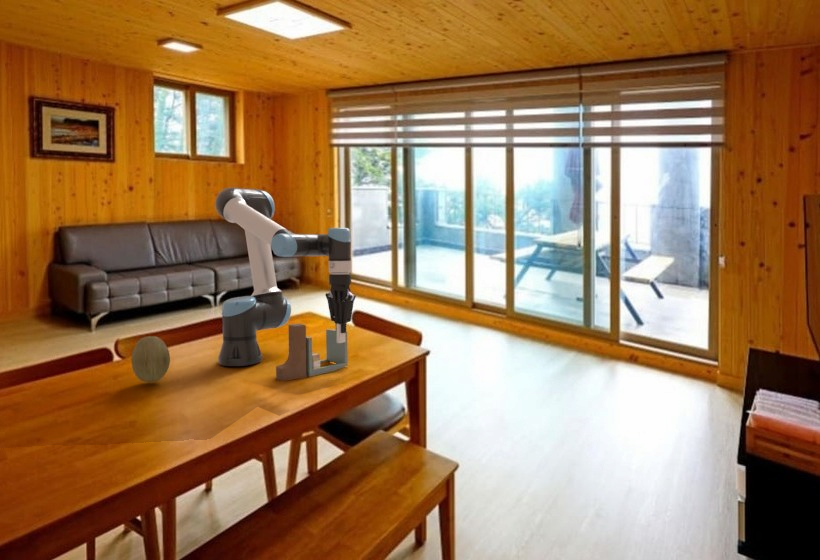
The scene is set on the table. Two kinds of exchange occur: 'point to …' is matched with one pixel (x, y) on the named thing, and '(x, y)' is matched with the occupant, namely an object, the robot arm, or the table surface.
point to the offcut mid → (316, 364)
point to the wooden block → (294, 355)
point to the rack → (328, 354)
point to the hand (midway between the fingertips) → (341, 342)
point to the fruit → (150, 359)
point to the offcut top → (315, 357)
